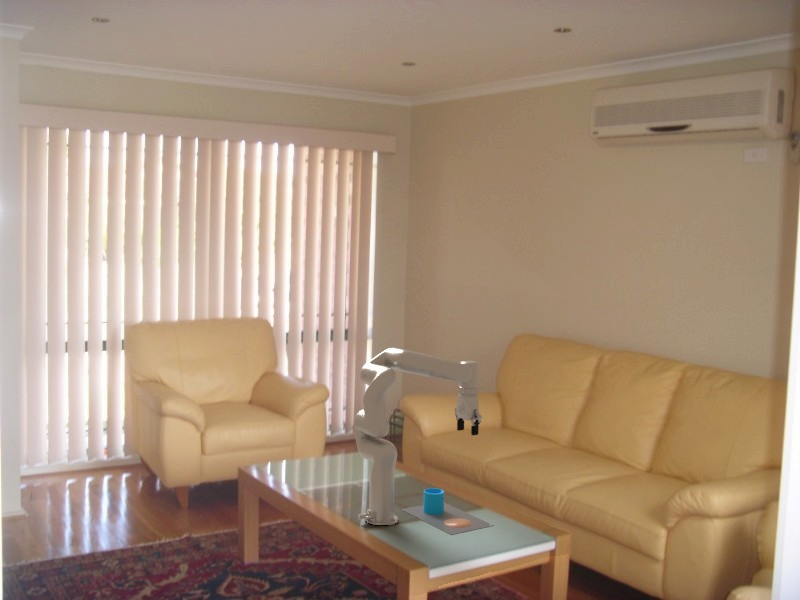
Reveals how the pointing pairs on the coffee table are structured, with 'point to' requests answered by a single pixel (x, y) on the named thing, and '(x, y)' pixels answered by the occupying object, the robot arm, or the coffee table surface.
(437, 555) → the coffee table surface
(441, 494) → the mug
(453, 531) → the mat
